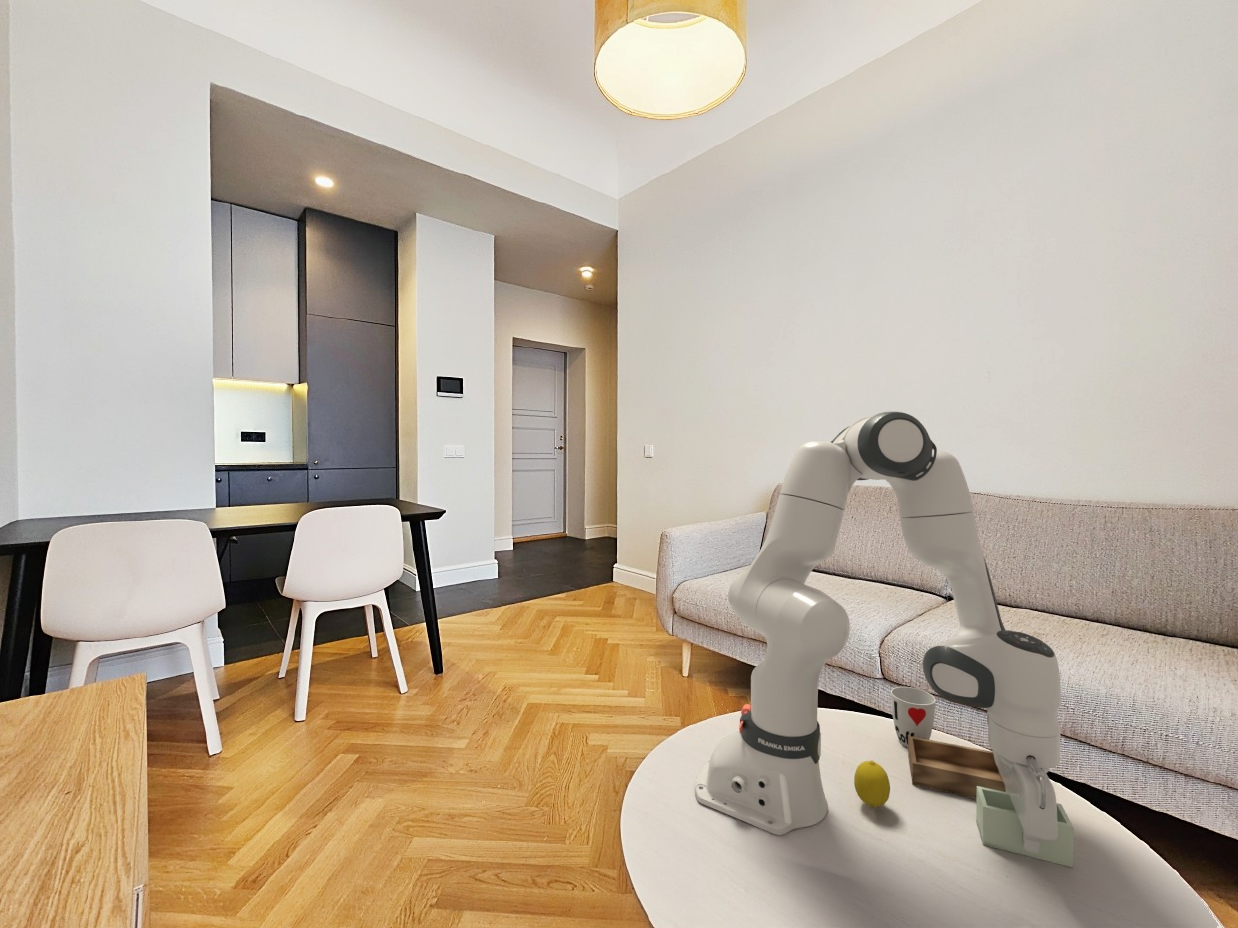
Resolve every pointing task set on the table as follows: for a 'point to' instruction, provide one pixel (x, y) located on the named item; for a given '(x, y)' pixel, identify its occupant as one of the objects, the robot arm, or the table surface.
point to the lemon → (872, 784)
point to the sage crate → (1019, 828)
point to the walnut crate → (952, 767)
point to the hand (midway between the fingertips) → (1021, 828)
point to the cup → (912, 713)
